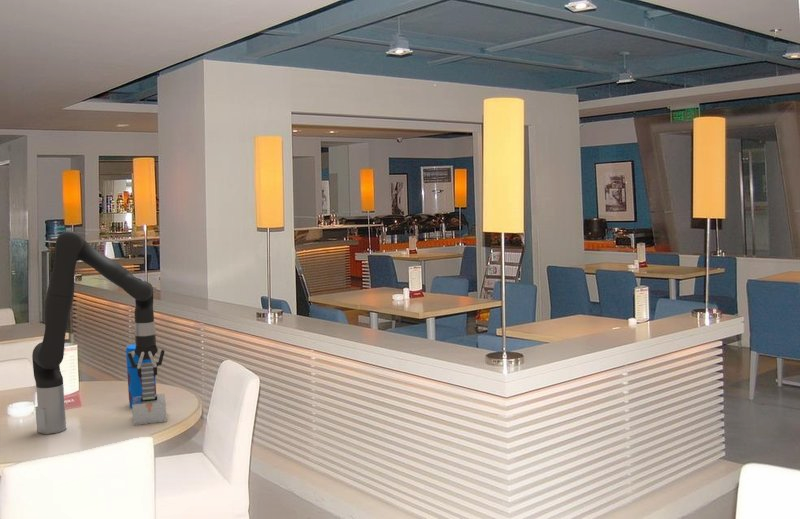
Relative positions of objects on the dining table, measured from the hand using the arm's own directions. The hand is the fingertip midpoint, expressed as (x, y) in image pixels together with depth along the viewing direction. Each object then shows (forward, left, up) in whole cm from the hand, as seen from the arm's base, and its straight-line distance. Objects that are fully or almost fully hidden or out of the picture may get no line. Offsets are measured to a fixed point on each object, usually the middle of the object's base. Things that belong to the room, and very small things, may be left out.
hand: (147, 376), depth 303 cm
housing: (0, 0, -17) cm, 17 cm away
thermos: (+10, +19, -17) cm, 27 cm away
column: (0, 0, -11) cm, 11 cm away
